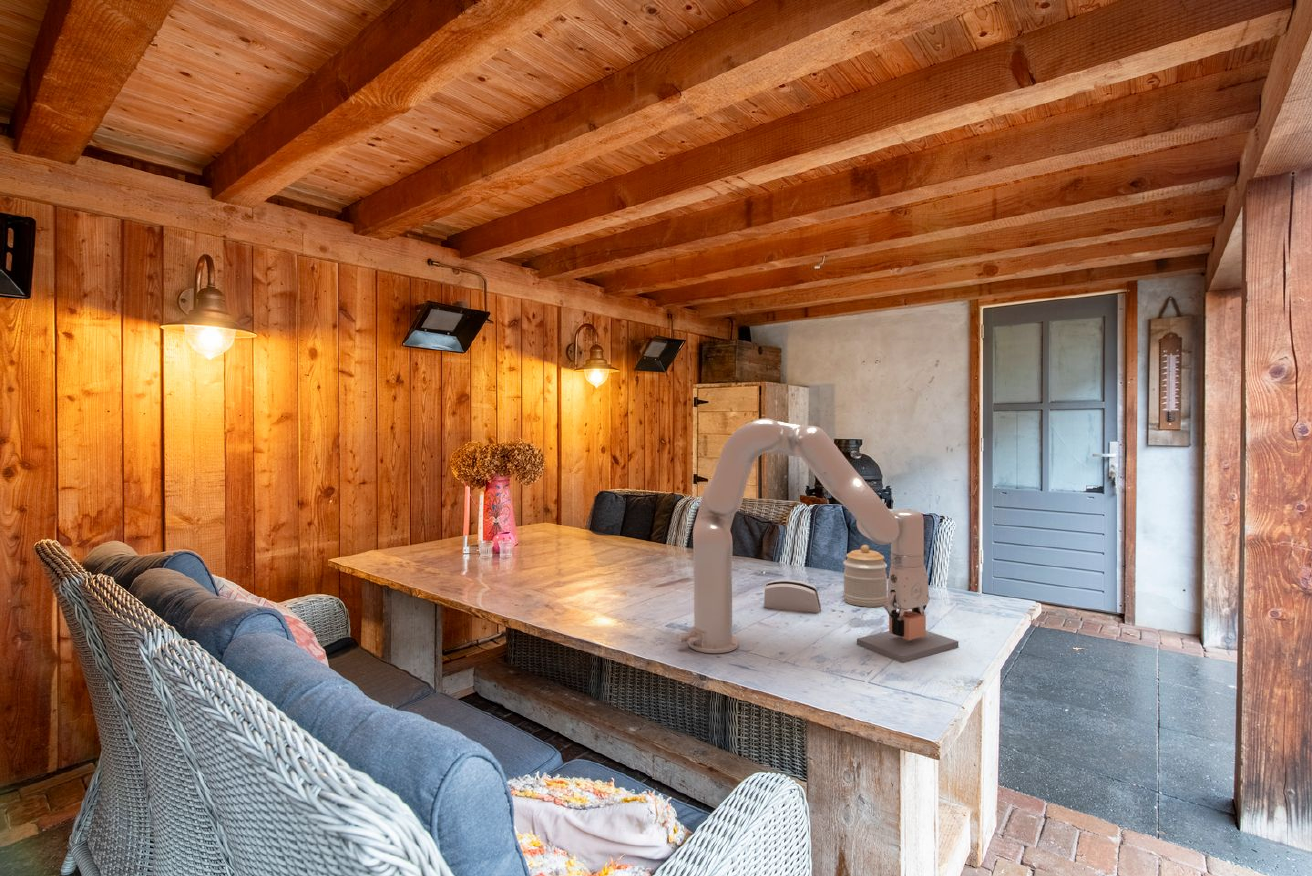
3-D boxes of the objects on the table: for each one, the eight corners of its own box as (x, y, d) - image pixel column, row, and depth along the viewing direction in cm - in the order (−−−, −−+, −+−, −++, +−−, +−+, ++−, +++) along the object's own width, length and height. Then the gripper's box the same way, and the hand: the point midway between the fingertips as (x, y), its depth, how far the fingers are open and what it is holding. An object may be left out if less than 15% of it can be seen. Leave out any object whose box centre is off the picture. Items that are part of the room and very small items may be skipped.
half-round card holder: (822, 608, 191) (820, 579, 188) (819, 618, 187) (817, 589, 184) (767, 602, 198) (764, 574, 195) (763, 611, 194) (760, 583, 191)
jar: (873, 595, 206) (873, 540, 205) (895, 606, 193) (895, 548, 192) (835, 597, 203) (835, 541, 203) (855, 609, 191) (855, 550, 190)
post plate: (902, 662, 148) (902, 639, 148) (856, 644, 160) (856, 622, 160) (958, 647, 158) (958, 625, 158) (911, 631, 170) (911, 610, 170)
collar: (909, 640, 155) (909, 619, 155) (889, 633, 160) (889, 613, 160) (925, 635, 158) (925, 615, 158) (905, 629, 163) (905, 609, 163)
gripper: (895, 567, 151) (895, 643, 151) (943, 559, 159) (943, 631, 160) (870, 561, 158) (870, 634, 158) (917, 554, 166) (918, 623, 166)
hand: (907, 632), depth 159 cm, fingers closed on collar, 6 cm apart
